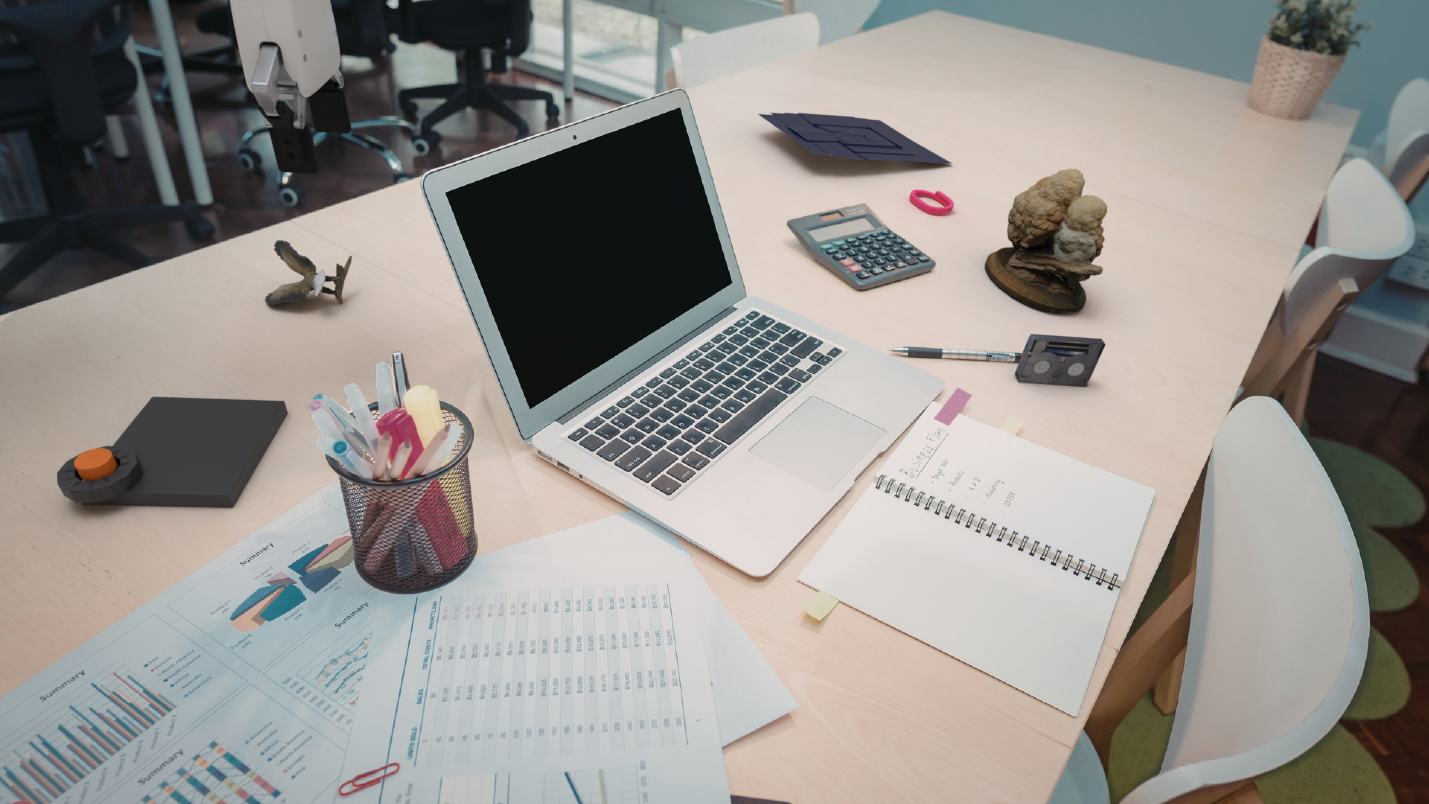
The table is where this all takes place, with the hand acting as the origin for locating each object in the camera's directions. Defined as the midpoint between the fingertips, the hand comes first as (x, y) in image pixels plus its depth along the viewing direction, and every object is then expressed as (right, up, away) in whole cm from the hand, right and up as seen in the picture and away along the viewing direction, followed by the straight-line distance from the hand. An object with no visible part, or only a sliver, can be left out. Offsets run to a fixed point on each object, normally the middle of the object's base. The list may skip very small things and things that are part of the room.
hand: (317, 150), depth 73 cm
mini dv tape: (+75, -20, +22) cm, 81 cm away
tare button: (-15, -28, -6) cm, 33 cm away
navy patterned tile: (+61, +25, +79) cm, 103 cm away
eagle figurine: (-12, -11, +22) cm, 27 cm away
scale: (-11, -28, 0) cm, 30 cm away
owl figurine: (+81, -7, +41) cm, 91 cm away
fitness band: (+72, +10, +61) cm, 94 cm away
